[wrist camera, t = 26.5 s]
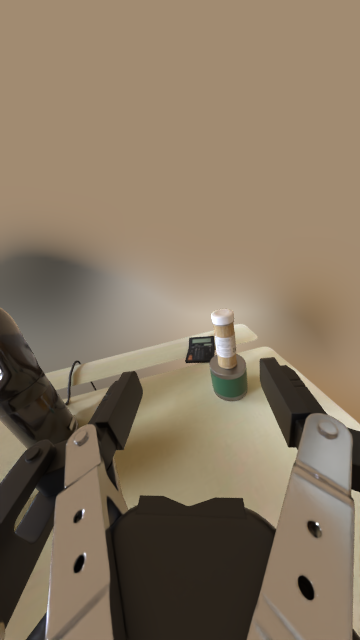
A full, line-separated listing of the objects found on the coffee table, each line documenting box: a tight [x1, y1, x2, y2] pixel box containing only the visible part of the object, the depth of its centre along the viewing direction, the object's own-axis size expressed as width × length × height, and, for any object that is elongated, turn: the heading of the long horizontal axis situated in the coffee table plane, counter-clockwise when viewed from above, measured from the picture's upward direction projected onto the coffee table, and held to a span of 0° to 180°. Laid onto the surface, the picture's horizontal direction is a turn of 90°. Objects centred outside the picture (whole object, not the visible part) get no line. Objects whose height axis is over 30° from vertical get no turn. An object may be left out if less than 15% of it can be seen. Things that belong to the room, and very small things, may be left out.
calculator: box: [185, 336, 215, 363], centre depth 60 cm, size 9×12×3 cm
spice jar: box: [211, 309, 237, 369], centre depth 38 cm, size 5×5×13 cm
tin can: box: [210, 354, 247, 401], centre depth 42 cm, size 8×8×8 cm
